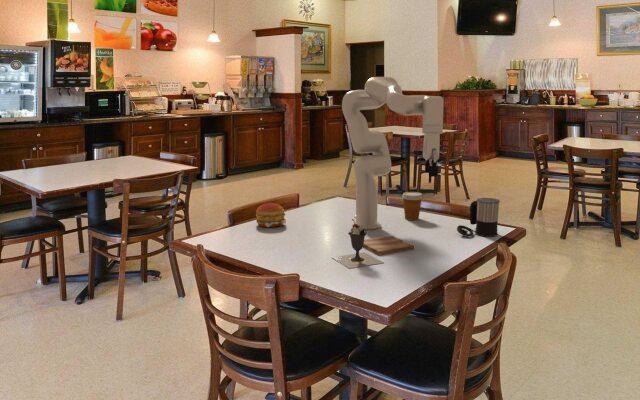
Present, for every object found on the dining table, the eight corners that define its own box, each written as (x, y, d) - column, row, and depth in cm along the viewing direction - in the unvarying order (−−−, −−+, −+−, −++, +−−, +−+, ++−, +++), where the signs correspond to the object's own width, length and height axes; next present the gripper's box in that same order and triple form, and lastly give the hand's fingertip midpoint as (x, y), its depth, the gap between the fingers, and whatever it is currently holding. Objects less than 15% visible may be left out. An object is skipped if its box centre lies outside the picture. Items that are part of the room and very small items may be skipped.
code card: (331, 257, 212) (331, 257, 212) (364, 252, 217) (364, 252, 217) (349, 268, 199) (349, 268, 199) (383, 263, 205) (384, 262, 205)
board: (357, 244, 228) (357, 240, 228) (392, 239, 235) (392, 235, 235) (378, 255, 214) (378, 251, 214) (414, 249, 221) (414, 245, 221)
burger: (260, 221, 268) (259, 200, 266) (288, 222, 266) (288, 200, 264) (252, 228, 255) (252, 206, 253) (282, 229, 253) (282, 207, 251)
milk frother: (502, 234, 242) (504, 199, 239) (483, 241, 231) (485, 205, 227) (471, 228, 251) (472, 195, 248) (452, 235, 240) (453, 200, 237)
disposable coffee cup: (401, 220, 265) (401, 195, 263) (401, 216, 275) (402, 191, 272) (422, 221, 264) (422, 196, 261) (422, 216, 273) (422, 192, 271)
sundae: (346, 257, 211) (346, 217, 208) (365, 256, 212) (365, 217, 209) (349, 262, 205) (349, 222, 202) (368, 262, 205) (368, 221, 202)
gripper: (419, 127, 225) (418, 170, 229) (425, 131, 208) (424, 178, 212) (438, 127, 225) (437, 170, 228) (446, 131, 208) (445, 178, 211)
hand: (431, 174), depth 220 cm, fingers open, 9 cm apart
